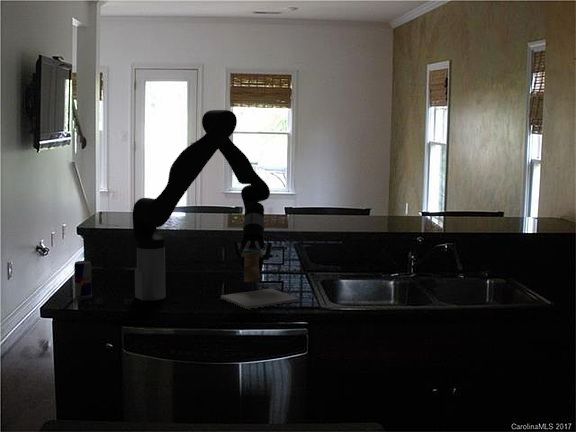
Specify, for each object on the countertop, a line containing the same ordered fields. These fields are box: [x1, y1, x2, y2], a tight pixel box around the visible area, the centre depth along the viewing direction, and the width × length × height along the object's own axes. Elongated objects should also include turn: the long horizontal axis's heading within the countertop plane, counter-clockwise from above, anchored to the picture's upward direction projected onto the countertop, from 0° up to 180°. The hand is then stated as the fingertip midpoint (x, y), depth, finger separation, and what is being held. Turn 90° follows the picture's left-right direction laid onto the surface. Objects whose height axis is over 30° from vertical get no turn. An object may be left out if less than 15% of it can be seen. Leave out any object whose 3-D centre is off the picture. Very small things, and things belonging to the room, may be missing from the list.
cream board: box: [220, 287, 300, 310], centre depth 267 cm, size 20×17×1 cm
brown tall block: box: [243, 248, 260, 283], centre depth 281 cm, size 5×5×11 cm
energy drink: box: [73, 260, 93, 300], centre depth 267 cm, size 5×5×12 cm
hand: (251, 268), depth 279 cm, fingers closed on brown tall block, 5 cm apart
